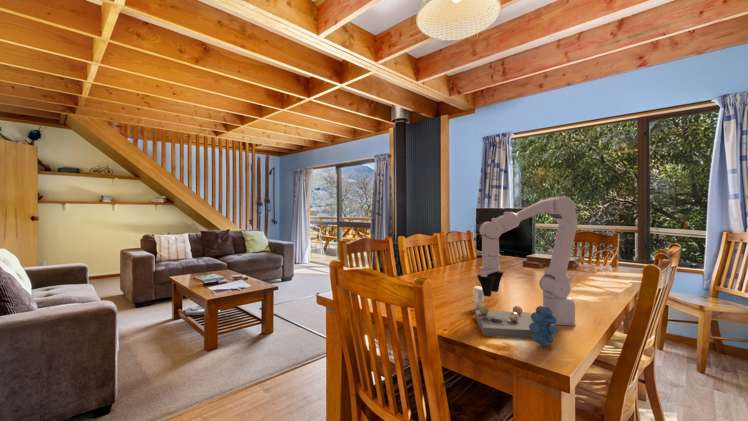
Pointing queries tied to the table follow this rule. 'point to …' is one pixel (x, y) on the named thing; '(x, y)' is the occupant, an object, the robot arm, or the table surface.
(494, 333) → the board
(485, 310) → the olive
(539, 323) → the grapes
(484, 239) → the robot arm
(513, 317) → the steel ball
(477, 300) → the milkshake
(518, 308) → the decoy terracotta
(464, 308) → the table surface
